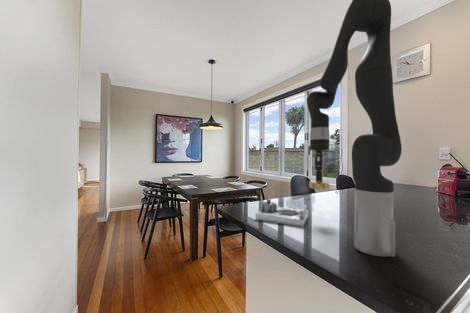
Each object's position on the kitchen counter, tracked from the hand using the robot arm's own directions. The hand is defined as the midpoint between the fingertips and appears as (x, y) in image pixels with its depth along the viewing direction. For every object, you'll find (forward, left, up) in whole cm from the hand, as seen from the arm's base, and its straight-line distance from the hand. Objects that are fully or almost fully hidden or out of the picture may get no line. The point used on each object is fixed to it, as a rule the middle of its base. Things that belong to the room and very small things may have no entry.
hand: (319, 179), depth 88 cm
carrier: (+14, +4, -17) cm, 22 cm away
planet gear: (0, 0, -3) cm, 3 cm away
